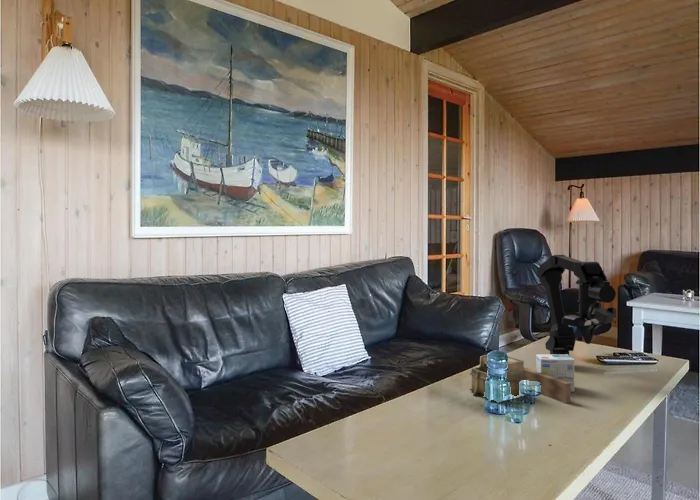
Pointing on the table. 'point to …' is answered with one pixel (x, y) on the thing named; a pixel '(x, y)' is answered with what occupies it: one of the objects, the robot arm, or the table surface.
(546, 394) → the wall
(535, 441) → the table surface
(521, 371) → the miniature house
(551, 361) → the light bulb box
